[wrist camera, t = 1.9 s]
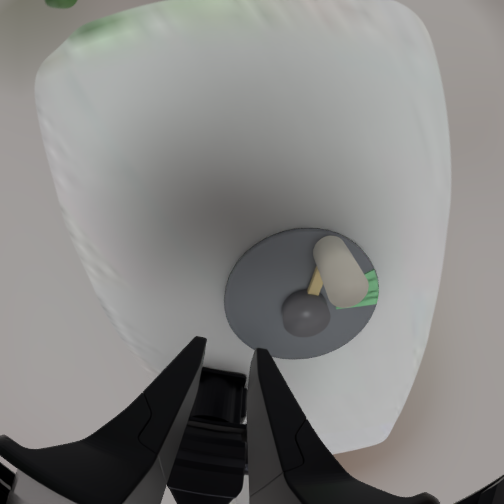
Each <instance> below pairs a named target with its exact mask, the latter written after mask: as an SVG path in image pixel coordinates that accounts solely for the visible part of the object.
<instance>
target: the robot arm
mask: <svg viewBox="0 0 504 504" xmlns="http://www.w3.org/2000/svg"><path fill="white" fill-rule="evenodd" d="M206 342H207V339H206V338H203V337H199V336H196V337H194V338H193V339H192V341H191V342H190V343H189V344H188V345H187V346H186V347H185V348H184V349H183V350H182V351H181V352H180V353H179V354H178V355H177V356H176V358H175V359H174V360H173V361H172V362H171V363H170V364H169V365H168V366H167V367H166V368H165V369H164V370H163V371H162V372H161V373H160V374H159V375H158V377H157V378H156V379H155V380H154V381H153V382H152V383H151V384H150V385H149V386H148V387H147V388H146V389H145V390H144V391H143V393H141V394H140V395H139V396H138V397H137V398H136V399H135V400H134V401H133V402H132V403H131V404H130V405H129V406H128V407H127V408H126V409H125V410H123V411H122V412H121V413H120V414H118V415H117V416H116V417H115V418H113V419H112V420H111V421H109V422H108V423H107V424H105V425H104V426H103V427H101V428H100V429H99V430H97V431H96V432H94V433H93V434H92V435H90V436H88V437H87V438H85V439H82V440H80V441H76V442H72V443H68V444H63V445H58V446H53V447H47V448H41V449H28V448H25V447H22V446H21V445H19V444H18V443H16V442H15V441H13V440H12V439H10V438H9V437H8V436H6V435H1V436H0V456H2V457H3V458H4V459H6V460H7V461H8V462H9V463H11V464H12V465H13V466H15V467H16V468H17V472H16V474H15V473H14V472H13V471H11V470H10V469H9V468H7V467H6V466H5V465H3V464H2V463H1V462H0V504H160V503H161V500H162V497H163V494H164V491H165V488H166V484H167V486H168V488H169V489H170V491H171V493H172V495H173V497H174V499H175V501H176V502H177V504H229V503H230V502H231V501H232V500H233V499H235V498H236V497H237V496H238V495H239V494H240V492H241V491H242V488H243V482H244V475H248V477H249V504H440V502H439V501H438V499H437V498H435V497H434V496H432V495H431V494H428V493H427V492H424V493H421V494H418V495H415V496H413V497H399V496H395V495H392V494H390V493H387V492H385V491H382V490H380V489H377V488H375V487H372V486H370V485H368V484H365V483H363V482H361V481H358V480H357V479H355V478H354V477H352V476H351V475H350V474H349V473H347V472H346V471H345V469H344V468H343V467H342V466H341V465H340V464H339V462H338V461H337V460H336V459H335V457H334V456H333V455H332V454H331V452H330V451H329V450H328V449H327V448H326V446H325V445H324V444H323V442H322V441H321V440H320V438H319V437H318V435H317V434H316V432H315V431H314V429H313V428H312V426H311V424H310V423H309V421H308V419H306V416H305V414H304V413H303V411H302V409H301V407H300V406H299V404H298V402H297V401H296V399H295V397H294V395H293V394H292V392H291V390H290V388H289V387H288V385H287V383H286V381H285V380H284V378H283V376H282V374H281V373H280V371H279V369H278V367H277V366H276V364H275V362H274V360H273V358H272V357H271V355H270V353H269V351H268V350H267V349H264V348H256V349H255V352H254V355H253V358H252V361H251V365H250V373H249V382H248V391H247V389H246V388H244V385H245V383H246V376H245V375H240V374H233V373H228V372H222V371H217V370H211V369H206V368H202V365H203V360H204V355H205V348H206ZM246 409H247V424H243V422H244V419H245V417H246ZM454 504H504V475H502V476H501V477H499V478H498V479H496V480H495V481H493V482H492V483H490V484H488V485H487V486H485V487H483V488H482V489H480V490H478V491H477V492H475V493H473V494H471V495H469V496H468V497H465V498H464V499H462V500H460V501H458V502H456V503H454Z"/></svg>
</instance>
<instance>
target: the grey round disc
mask: <svg viewBox="0 0 504 504" xmlns="http://www.w3.org/2000/svg"><path fill="white" fill-rule="evenodd" d="M326 236H337V237H339V238H341V239H342V240H343V241H344V243H345V244H346V246H347V248H348V249H349V251H350V252H351V254H352V255H353V257H354V259H355V260H356V262H357V263H358V265H359V267H360V268H361V270H362V272H363V273H364V275H365V277H366V278H367V280H368V284H369V288H368V292H367V294H366V296H365V297H364V299H363V300H362V301H361V302H359V303H358V304H356V305H354V306H352V307H348V308H340V307H336V306H334V305H333V304H332V303H331V302H330V301H329V299H328V296H327V293H326V290H325V287H324V285H322V288H321V290H320V294H322V295H323V296H324V298H325V299H326V302H327V305H328V308H329V311H330V315H331V318H330V322H329V324H328V326H327V327H326V328H325V329H324V330H323V331H322V332H321V333H319V334H317V335H315V336H311V337H296V336H293V335H291V334H290V333H288V332H287V331H286V329H285V328H284V325H283V317H282V306H283V303H284V301H285V300H286V299H287V298H288V297H289V296H290V295H291V294H293V293H295V292H297V291H301V290H308V287H309V284H310V282H311V279H312V276H313V274H314V271H315V268H316V266H317V265H316V262H315V260H314V257H313V249H314V246H315V244H316V243H317V242H318V241H319V240H320V239H322V238H323V237H326ZM378 294H379V284H378V277H377V274H376V271H375V269H374V267H373V265H372V263H371V261H370V260H369V258H368V257H367V256H366V254H365V253H364V252H363V250H362V249H361V248H360V247H359V246H358V245H357V244H356V243H354V242H353V241H351V240H350V239H348V238H347V237H345V236H343V235H341V234H338V233H335V232H332V231H329V230H324V229H318V228H301V229H293V230H288V231H283V232H280V233H278V234H275V235H272V236H270V237H268V238H266V239H264V240H262V241H260V242H259V243H257V244H256V245H254V246H253V247H252V248H251V249H249V250H248V251H247V252H246V253H245V254H244V255H243V256H242V257H241V258H240V260H239V261H238V262H237V264H236V265H235V267H234V268H233V270H232V272H231V274H230V276H229V279H228V283H227V286H226V291H225V299H224V305H225V313H226V317H227V320H228V322H229V325H230V327H231V328H232V330H233V332H234V333H235V334H236V335H237V336H238V338H239V339H240V340H242V341H243V342H244V343H245V344H246V345H248V346H249V347H251V348H252V349H254V350H255V349H256V348H264V349H267V350H268V351H269V353H270V355H271V356H272V357H276V358H282V359H306V358H312V357H317V356H320V355H324V354H327V353H329V352H332V351H334V350H336V349H338V348H340V347H342V346H343V345H345V344H346V343H348V342H349V341H350V340H352V339H353V338H354V337H355V336H356V335H357V334H358V333H359V332H361V330H362V329H363V328H364V327H365V326H366V324H367V323H368V321H369V320H370V318H371V316H372V314H373V312H374V310H375V307H376V304H377V300H378Z"/></svg>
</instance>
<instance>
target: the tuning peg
mask: <svg viewBox="0 0 504 504" xmlns="http://www.w3.org/2000/svg"><path fill="white" fill-rule="evenodd" d="M313 257H314V260H315V262H316V265H317V266H316V268H315V271H314V274H313V276H312V279H311V282H310V284H309V287H308V290H301V291H297V292H295V293H293V294H291V295H290V296H289V297H288V298H287V299H286V300H285V301H284V303H283V306H282V317H283V325H284V328H285V329H286V331H287V332H288V333H290V334H291V335H293V336H296V337H311V336H315V335H317V334H319V333H321V332H322V331H323V330H324V329H325V328H326V327H327V326H328V324H329V322H330V318H331V315H330V311H329V308H328V305H327V302H326V299H325V298H324V296H323V295H322V294H320V290H321V288H322V285H324V287H325V290H326V293H327V296H328V299H329V301H330V302H331V303H332V304H333V305H334V306H336V307H340V308H348V307H352V306H354V305H356V304H358V303H359V302H361V301H362V300H363V299H364V297H365V296H366V294H367V292H368V288H369V284H368V280H367V278H366V277H365V275H364V273H363V272H362V270H361V268H360V267H359V265H358V263H357V262H356V260H355V259H354V257H353V255H352V254H351V252H350V251H349V249H348V248H347V246H346V244H345V243H344V241H343V240H342V239H341V238H339V237H337V236H326V237H323V238H322V239H320V240H319V241H318V242H317V243H316V244H315V246H314V249H313Z"/></svg>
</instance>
